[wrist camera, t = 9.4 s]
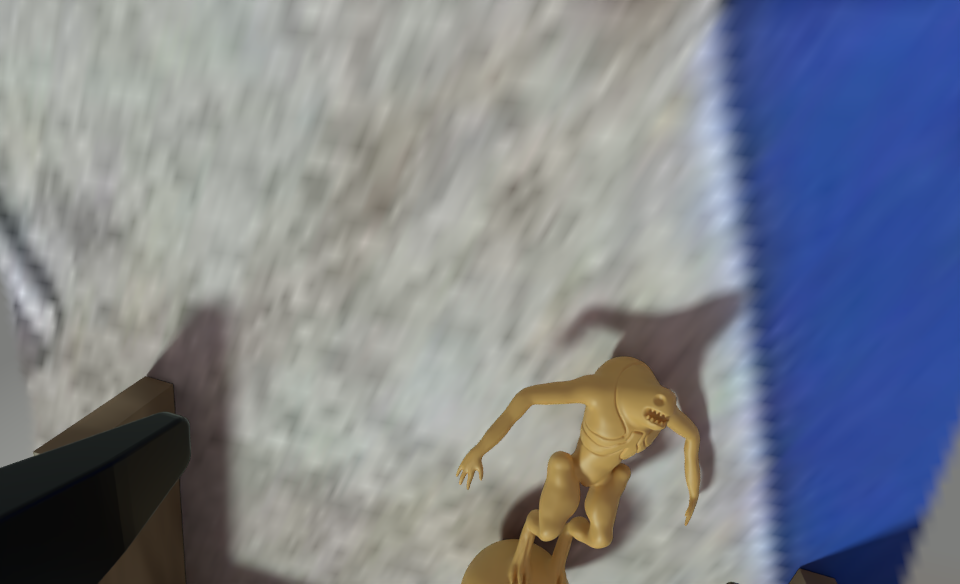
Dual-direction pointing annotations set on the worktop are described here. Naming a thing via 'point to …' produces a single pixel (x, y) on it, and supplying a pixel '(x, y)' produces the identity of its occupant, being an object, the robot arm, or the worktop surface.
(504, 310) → the worktop surface
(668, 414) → the figurine
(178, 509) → the three-sided wooden wall
